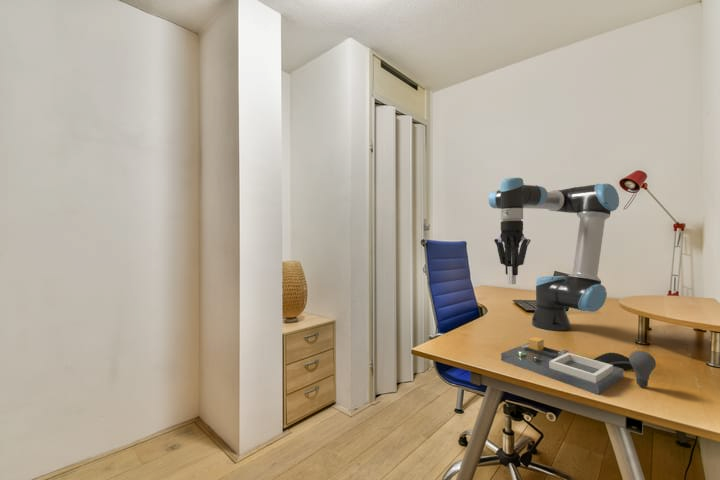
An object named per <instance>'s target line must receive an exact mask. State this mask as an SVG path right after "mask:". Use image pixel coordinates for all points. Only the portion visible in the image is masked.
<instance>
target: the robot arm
mask: <svg viewBox="0 0 720 480" xmlns="http://www.w3.org/2000/svg"><path fill="white" fill-rule="evenodd" d="M488 204H489V206H490V207H491V208H492V209H499V210H500V220H502V221H501V222H500V232H501V233H500V235H499V237H497V238H495V239H494V240H493V241H494V243H495V244H496V245H495V246H496V248H497V253H498V259H499V262H500V264H501V265H503V266H505V275H507V285H516V284H517V282H516V281H517V276H518V274H519V267H520V266H523V265H524V264H525V258H526V254H527V249H528V246H529V244H530V243H531V239H529V238H526V237H525V235H524V233H523V232H524V221H523V219H524V209H537V210H538V209H541V210H542V209H543V210H548V211H550V212H561V213H570V214H576V216H577V217H578V218H579V219H580V220H579V224H578V225H579V226H578V233H577V240H576V245H575V253H574V254H575V255H574V261H573V269H572V272H571V273H569V275H567V278H566V276H565V275H564V276H563V275H554V276H553V275H551V276H549V275H548V276H540V277H537V278H536V284H535V296H536V297H535V303H536V304H535V310H534V312H533V315H532V318H531V325H532V326H534V327H535V328H539V329H543V330H548V331H558V332H562V331H568V330H570V329H571V322H570V320H569V317H568V314H567V312H566V308H568V309H569V308H570V309H574V310H579V311H582V312H591V313H593V312H597V311H599V310H600V309H601V308H603V306H604V305H605V303H606V301H607V295H608V294H607V289H606V287H605V286H604V285H602V280H601V278H600V277H599V276H598V273H599V265H600V259H601V252H602V245H603V244H602V243H603V237H604V229H605V221H606V220H607V219H609V218H610V216H611V213H612V212H614V211H617V209H618V208H619V205H620V197H619V193H618V191H617V189H616V188H615V187H614V185H612V184H610V183H596V184H589V185H583V186H577V187H569V188H565V189H559V190H557V189H554V190H550V191H548V190H547V188H545V187H543V186H539V185H538V184H537V185H533V184H532V185H529V184H524V179H523V178H522V177H509V178H504V179H501V182H500V189H499V190H498V189H497V190H495V191H492V192H491V193H489V196H488Z"/></svg>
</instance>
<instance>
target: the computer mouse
mask: <svg viewBox="0 0 720 480" xmlns="http://www.w3.org/2000/svg"><path fill="white" fill-rule="evenodd" d="M591 359H592V358H591ZM592 360H596V361H600V362H603V363H607V364H610V365H613V366H614V367H618V368H622V369H624V371H632V370H633V371H634V369H633V367H632V365H631V364H630V361H629V357H628V356H625V355H623V354H621V353H618V352H606V353H603V354H601V355H599V356H597V357H594V358H593V359H592Z"/></svg>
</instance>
